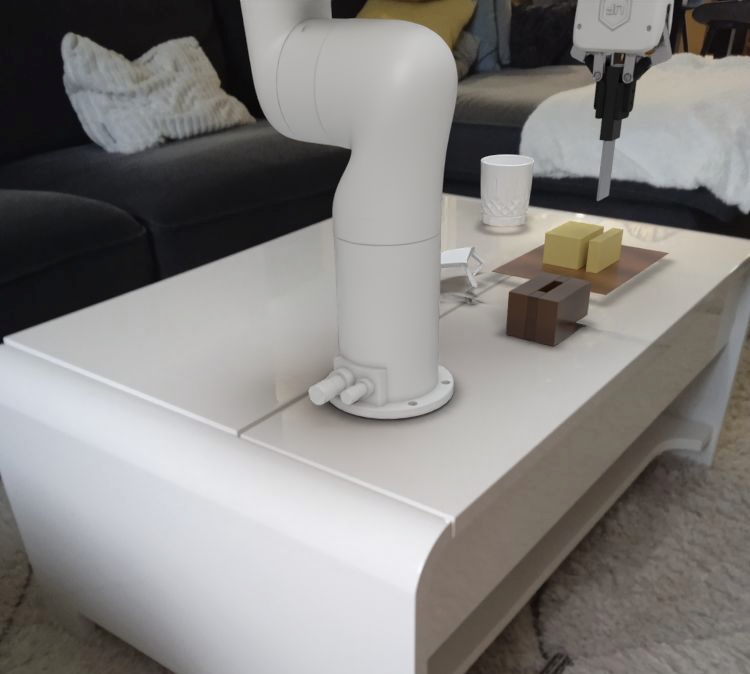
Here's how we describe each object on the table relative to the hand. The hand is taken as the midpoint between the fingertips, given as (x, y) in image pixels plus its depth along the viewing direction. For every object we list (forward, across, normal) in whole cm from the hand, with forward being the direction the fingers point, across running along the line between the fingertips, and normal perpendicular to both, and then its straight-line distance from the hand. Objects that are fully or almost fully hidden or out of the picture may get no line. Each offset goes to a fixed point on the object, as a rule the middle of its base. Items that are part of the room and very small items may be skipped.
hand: (612, 116), depth 99 cm
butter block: (+18, -3, 0) cm, 18 cm away
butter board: (+19, -2, 0) cm, 19 cm away
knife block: (+19, +4, -21) cm, 29 cm away
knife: (+10, 0, 0) cm, 10 cm away
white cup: (+19, -21, +12) cm, 31 cm away
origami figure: (+19, -11, -17) cm, 28 cm away
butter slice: (+18, +1, 0) cm, 18 cm away
